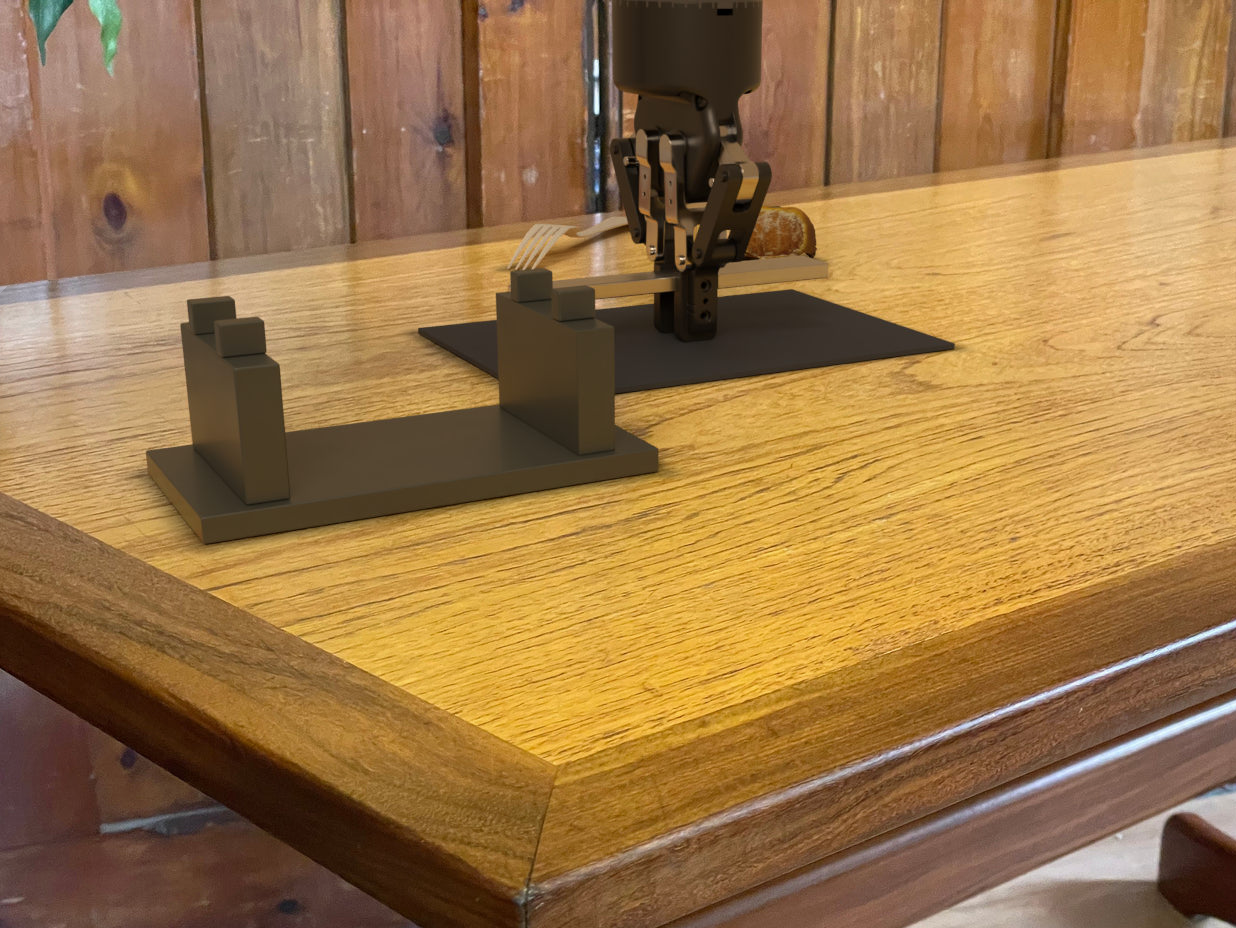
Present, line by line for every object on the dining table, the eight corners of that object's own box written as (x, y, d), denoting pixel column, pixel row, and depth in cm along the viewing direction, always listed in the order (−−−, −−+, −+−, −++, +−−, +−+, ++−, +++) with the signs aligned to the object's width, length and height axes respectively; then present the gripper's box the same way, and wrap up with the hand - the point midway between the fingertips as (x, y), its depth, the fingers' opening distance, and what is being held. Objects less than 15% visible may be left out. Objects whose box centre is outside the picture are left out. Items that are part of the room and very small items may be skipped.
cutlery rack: (203, 545, 56) (182, 342, 53) (147, 474, 63) (127, 293, 61) (659, 471, 65) (659, 294, 62) (564, 417, 72) (560, 256, 69)
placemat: (540, 403, 74) (540, 397, 74) (418, 333, 87) (417, 327, 87) (954, 348, 85) (955, 343, 85) (792, 293, 98) (792, 289, 98)
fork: (653, 254, 123) (654, 217, 122) (539, 271, 103) (540, 227, 103) (619, 251, 124) (620, 215, 123) (499, 268, 104) (500, 225, 104)
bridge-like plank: (525, 309, 79) (524, 293, 79) (504, 298, 81) (504, 283, 81) (828, 277, 88) (828, 263, 88) (802, 269, 90) (803, 255, 90)
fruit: (686, 268, 105) (686, 212, 104) (731, 248, 112) (732, 195, 111) (806, 279, 102) (808, 221, 101) (844, 258, 110) (847, 204, 108)
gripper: (560, -11, 84) (566, 317, 90) (688, -2, 73) (686, 371, 79) (686, -11, 87) (684, 305, 93) (827, -3, 76) (814, 355, 82)
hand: (685, 334), depth 86 cm, fingers closed, pressing on placemat, steel fork
